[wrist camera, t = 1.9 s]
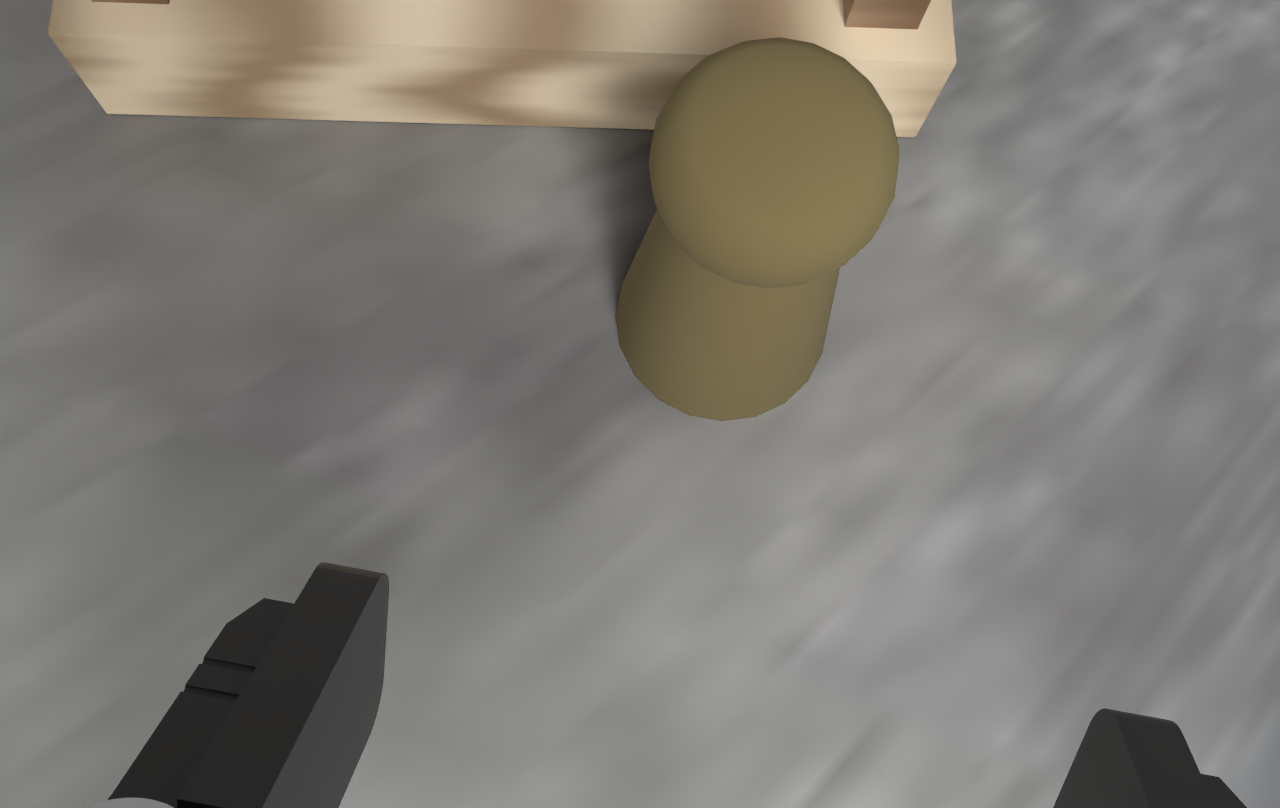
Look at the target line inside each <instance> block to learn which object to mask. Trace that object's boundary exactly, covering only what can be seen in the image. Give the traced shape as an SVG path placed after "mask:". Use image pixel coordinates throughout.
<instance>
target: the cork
mask: <svg viewBox="0 0 1280 808" xmlns="http://www.w3.org/2000/svg"><path fill="white" fill-rule="evenodd" d="M898 163H899V145H898V141H897V137H896V132H895V128H894V124H893V119H892V115H891V114H890V112H889V110H888V109H887V107H886V105H885V104H884V102H883V101H882V99H881V97H880V96H879V94H878V92H877V91H876V89H875V87H874V86H873V84H872V83H871V82H870V81H869V80H868V79H867V78H866V77H865V76H864V75H863V74H862V73H860V72H859V71H858V70H857V69H856V68H855V67H854V66H853V65H851V64H850V63H849V62H848V61H847V60H846V59H845V58H844V57H841V56H839V55H837V54H835V53H833V52H831V51H829V50H827V49H825V48H823V47H821V46H818V45H816V44H814V43H810V42H804V41H799V40H793V39H788V38H782V37H778V38H768V39H758V40H748V41H744V42H740V43H738V44H735V45H733V46H730V47H728V48H725V49H723V50H720V51H718V52H716V53H713V54H711V55H708V56H707V57H706V58H704V59H703V60H702V61H701V62H700V63H698V64H697V65H696V66H695V67H694V68H692V69H691V70H690V71H689V72H688V73H687V74H685V75H684V76H683V77H682V78H681V79H680V81H679V82H678V84H677V85H676V87H675V88H674V90H673V91H672V93H671V95H670V96H669V98H668V100H667V101H666V103H665V105H664V107H663V108H662V110H661V112H660V113H659V115H658V117H657V118H656V123H655V128H654V133H653V139H652V144H651V149H650V157H649V172H650V178H651V184H652V190H653V196H654V202H655V204H656V206H657V210H656V212H655V214H654V216H653V218H652V220H651V223H650V225H649V227H648V229H647V231H646V233H645V236H644V238H643V240H642V242H641V244H640V246H639V249H638V251H637V253H636V255H635V257H634V260H633V262H632V264H631V266H630V268H629V270H628V273H627V275H626V277H625V279H624V281H623V283H622V286H621V290H620V296H619V301H618V306H617V312H616V322H617V328H618V335H619V342H620V348H621V350H622V351H623V353H624V355H625V357H626V359H627V361H628V363H629V365H630V367H631V369H632V371H633V373H634V375H635V376H636V377H637V378H638V379H639V380H640V381H641V382H642V383H643V384H644V385H645V386H646V387H647V388H648V389H649V390H650V391H651V392H652V393H653V394H654V395H655V396H656V397H657V398H658V399H659V400H661V401H663V402H665V403H667V404H669V405H670V406H672V407H674V408H676V409H678V410H680V411H682V412H684V413H686V414H688V415H692V416H698V417H703V418H709V419H714V420H720V421H725V420H733V419H741V418H749V417H756V416H758V415H760V414H762V413H764V412H766V411H768V410H770V409H773V408H775V407H777V406H779V405H781V404H783V403H785V402H786V401H787V400H788V399H789V398H790V397H791V396H792V395H793V394H795V393H796V392H797V391H798V390H799V389H800V388H801V387H802V386H803V385H804V384H805V383H806V382H807V381H808V379H809V377H810V376H811V374H812V372H813V370H814V368H815V366H816V364H817V362H818V360H819V358H820V356H821V354H822V350H823V346H824V341H825V336H826V331H827V327H828V322H829V317H830V312H831V308H832V303H833V298H834V293H835V288H836V284H837V279H838V274H839V269H840V267H841V266H843V265H845V264H846V263H847V262H848V261H849V260H850V259H851V258H852V257H854V256H855V255H856V254H857V253H858V252H859V251H860V250H861V249H862V248H863V247H864V246H865V245H866V244H867V243H868V242H870V241H871V239H872V238H873V236H874V235H875V233H876V231H877V230H878V228H879V226H880V224H881V222H882V220H883V218H884V216H885V214H886V212H887V210H888V208H889V206H890V205H891V203H892V201H893V199H894V197H895V188H896V180H897V171H898Z"/></svg>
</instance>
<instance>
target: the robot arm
mask: <svg viewBox="0 0 1280 808" xmlns="http://www.w3.org/2000/svg"><path fill="white" fill-rule="evenodd" d="M388 597H389V580H388V576H387V575H386V574H384V573H379V572H373V571H368V570H362V569H357V568H351V567H346V566H341V565H335V564H330V563H324V562H322V563H320V564H319V565H318V566H317V567H316V569H315V570H314V572H313V574H312V575H311V577H310V579H309V580H308V582H307V584H306V585H305V587H304V589H303V590H302V592H301V594H300V595H299V597H298V599H297V600H296V602H295V604H293V603H287V602H282V601H276V600H271V599H266V598H264V599H262V600H261V601H259V602H258V603H256V604H255V605H253V606H252V607H251V608H249V609H248V610H246V611H245V612H243V613H242V614H240V615H239V616H237V617H236V618H234V619H233V620H231V621H230V622H228V623H227V624H226V625H225V627H224V628H223V630H222V631H221V633H220V634H219V636H218V637H217V639H216V640H215V642H214V643H213V645H212V646H211V648H210V649H209V651H208V652H207V653H206V655H205V656H204V661H203V663H202V664H199V665H198V667H197V668H196V670H195V671H194V673H193V674H192V676H191V677H190V679H189V680H188V682H187V683H186V686H185V690H184V692H180V694H179V695H178V697H177V698H176V700H175V701H174V703H173V704H172V706H171V707H170V709H169V710H168V712H167V713H166V715H165V716H164V718H163V719H162V721H161V722H160V724H159V725H158V727H157V728H156V730H155V731H154V733H153V734H152V735H151V737H150V738H149V740H148V741H147V743H146V744H145V746H144V747H143V749H142V750H141V752H140V753H139V755H138V756H137V758H136V759H135V761H134V762H133V764H132V765H131V767H130V768H129V770H128V771H127V773H126V774H125V776H124V777H123V779H122V780H121V782H120V783H119V785H118V786H117V788H116V789H115V791H114V792H113V793H112V795H111V796H110V797H109V799H108V800H107V801H102V802H98V803H95V804H92V805H89V806H87V807H84V808H338V807H339V805H340V803H341V800H342V798H343V796H344V793H345V791H346V789H347V786H348V784H349V782H350V780H351V777H352V775H353V773H354V770H355V768H356V766H357V763H358V761H359V759H360V757H361V754H362V752H363V750H364V747H365V745H366V743H367V740H368V738H369V736H370V733H371V731H372V728H373V725H374V722H375V718H376V715H377V711H378V707H379V703H380V698H381V693H382V686H383V678H384V662H385V646H386V630H387V613H388ZM1054 808H1247V807H1246V806H1245V805H1244V804H1243V803H1242V802H1241V801H1240V800H1239V799H1238V798H1237V796H1236V795H1235V794H1234V793H1233V792H1232V791H1231V790H1230V789H1229V788H1228V787H1227V785H1226V784H1225V783H1224V782H1223V781H1222V780H1221V779H1220V778H1219V777H1215V776H1209V775H1204V774H1200V772H1199V769H1198V767H1197V765H1196V763H1195V761H1194V758H1193V756H1192V754H1191V752H1190V749H1189V747H1188V745H1187V743H1186V740H1185V738H1184V736H1183V734H1182V732H1181V730H1180V728H1179V727H1178V726H1177V724H1176V723H1174V722H1173V721H1170V720H1165V719H1159V718H1154V717H1148V716H1143V715H1138V714H1132V713H1127V712H1121V711H1116V710H1110V709H1101V710H1099V711H1098V712H1097V713H1096V714H1095V716H1094V717H1093V718H1092V720H1091V722H1090V725H1089V727H1088V729H1087V731H1086V734H1085V736H1084V738H1083V741H1082V743H1081V745H1080V747H1079V750H1078V752H1077V754H1076V757H1075V759H1074V761H1073V763H1072V766H1071V768H1070V770H1069V773H1068V775H1067V777H1066V780H1065V782H1064V784H1063V786H1062V789H1061V791H1060V793H1059V796H1058V798H1057V800H1056V802H1055V805H1054Z"/></svg>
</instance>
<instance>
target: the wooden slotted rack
mask: <svg viewBox="0 0 1280 808" xmlns="http://www.w3.org/2000/svg"><path fill="white" fill-rule="evenodd" d="M47 34H48V35H49V36H50V38H51V39H52V40H53V42H54V43H55V44H56V46H57V47H58V48H59V50H60V51H61V52H62V54H63V55H64V56H65V58H66V59H67V60H68V62H69V63H70V65H71V66H72V67H73V69H74V70H75V71H76V73H77V74H78V75H79V77H80V78H81V79H82V81H83V82H84V83H85V85H86V86H87V87H88V89H89V90H90V91H91V93H92V94H93V95H94V97H95V98H96V99H97V101H98V102H99V104H100V105H101V106H102V108H103V109H104V110H105V112H106V113H107V114H135V115H169V116H203V117H238V118H272V119H306V120H341V121H375V122H409V123H444V124H478V125H512V126H547V127H581V128H615V129H650V130H654V128H655V123H656V118H657V117H658V115H659V113H660V112H661V110H662V108H663V107H664V105H665V103H666V101H667V100H668V98H669V96H670V95H671V93H672V91H673V90H674V88H675V87H676V85H677V84H678V82H679V81H680V79H681V78H682V77H683V76H684V75H685V74H687V73H688V72H689V71H690V70H691V69H692V68H694V67H695V66H696V65H697V64H698V63H700V62H701V61H702V60H703V59H704V58H706V57H707V56H708V55H711V54H713V53H716V52H718V51H720V50H723V49H725V48H728V47H730V46H733V45H735V44H738V43H740V42H744V41H748V40H758V39H768V38H778V37H782V38H788V39H793V40H799V41H804V42H810V43H814V44H816V45H818V46H821V47H823V48H825V49H827V50H829V51H831V52H833V53H835V54H837V55H839V56H841V57H844V58H845V59H846V60H847V61H848V62H849V63H850V64H851V65H853V66H854V67H855V68H856V69H857V70H858V71H859V72H860V73H862V74H863V75H864V76H865V77H866V78H867V79H868V80H869V81H870V82H871V83H872V84H873V86H874V87H875V89H876V91H877V92H878V94H879V96H880V97H881V99H882V101H883V102H884V104H885V105H886V107H887V109H888V110H889V112H890V114H891V115H892V119H893V124H894V128H895V132H896V137H916V135H917V134H918V132H919V130H920V128H921V126H922V124H923V123H924V121H925V119H926V117H927V115H928V114H929V112H930V110H931V108H932V106H933V104H934V103H935V101H936V99H937V97H938V95H939V94H940V92H941V90H942V88H943V86H944V84H945V83H946V81H947V79H948V77H949V75H950V74H951V72H952V70H953V68H954V66H955V64H956V51H955V40H954V28H953V16H952V4H951V0H53V4H52V10H51V16H50V21H49V27H48V33H47Z"/></svg>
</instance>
